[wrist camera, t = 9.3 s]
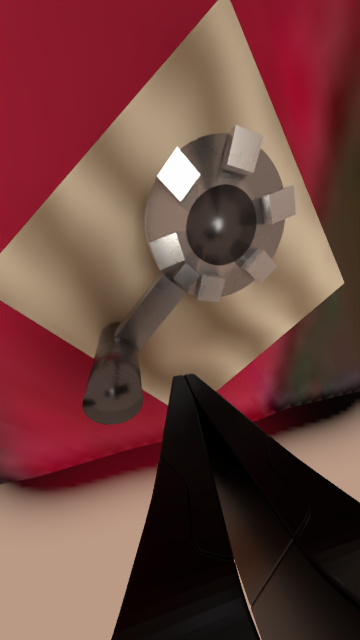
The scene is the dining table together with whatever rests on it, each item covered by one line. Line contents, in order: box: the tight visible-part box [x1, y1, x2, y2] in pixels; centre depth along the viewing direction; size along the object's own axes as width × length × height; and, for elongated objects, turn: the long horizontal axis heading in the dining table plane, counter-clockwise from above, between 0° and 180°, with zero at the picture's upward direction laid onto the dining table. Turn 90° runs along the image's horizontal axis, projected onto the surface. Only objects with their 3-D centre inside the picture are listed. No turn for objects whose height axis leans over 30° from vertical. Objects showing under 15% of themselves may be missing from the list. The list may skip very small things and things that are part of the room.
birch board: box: [0, 0, 344, 405], centre depth 17 cm, size 22×22×2 cm
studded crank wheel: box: [83, 125, 296, 425], centre depth 12 cm, size 17×9×7 cm, turn 140°
